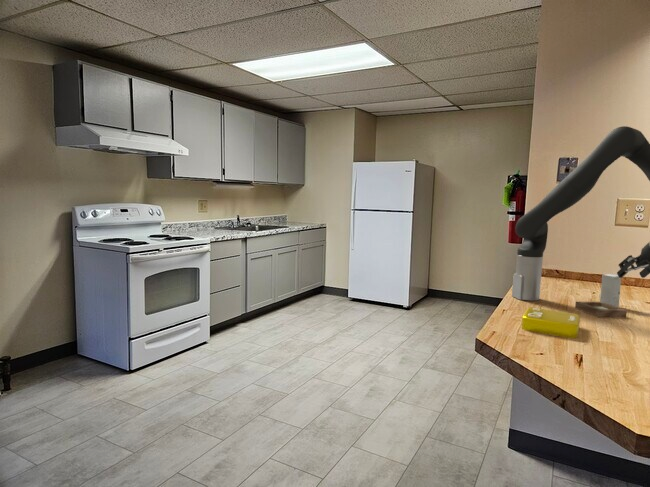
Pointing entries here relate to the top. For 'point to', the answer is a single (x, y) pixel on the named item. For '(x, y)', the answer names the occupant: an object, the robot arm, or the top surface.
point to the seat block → (601, 309)
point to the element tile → (551, 322)
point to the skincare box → (610, 289)
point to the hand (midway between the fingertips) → (630, 275)
